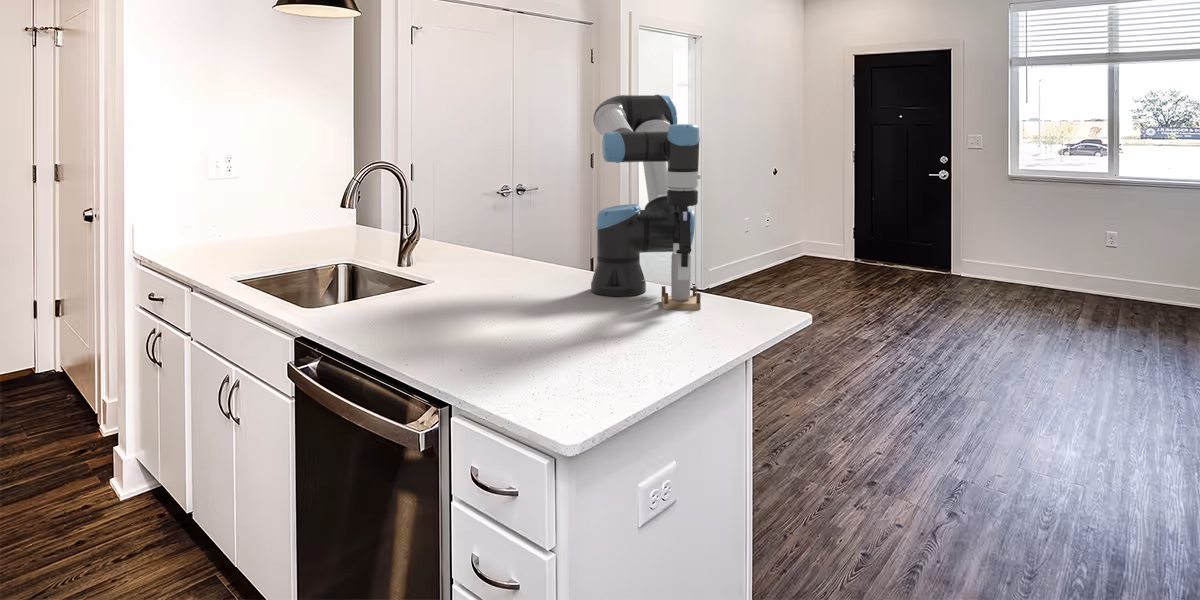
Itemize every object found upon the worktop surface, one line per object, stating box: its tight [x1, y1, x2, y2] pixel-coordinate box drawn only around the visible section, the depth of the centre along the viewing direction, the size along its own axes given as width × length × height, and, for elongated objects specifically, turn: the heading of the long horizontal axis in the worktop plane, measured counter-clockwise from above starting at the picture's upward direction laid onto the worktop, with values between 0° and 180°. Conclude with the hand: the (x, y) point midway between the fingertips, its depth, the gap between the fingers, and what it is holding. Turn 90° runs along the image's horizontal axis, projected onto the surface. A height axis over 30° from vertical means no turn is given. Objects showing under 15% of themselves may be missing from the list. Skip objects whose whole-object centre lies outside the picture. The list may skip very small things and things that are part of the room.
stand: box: [660, 285, 702, 311], centre depth 193 cm, size 9×9×4 cm
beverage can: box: [670, 251, 692, 301], centre depth 192 cm, size 5×5×12 cm
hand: (680, 273), depth 192 cm, fingers open, 13 cm apart
